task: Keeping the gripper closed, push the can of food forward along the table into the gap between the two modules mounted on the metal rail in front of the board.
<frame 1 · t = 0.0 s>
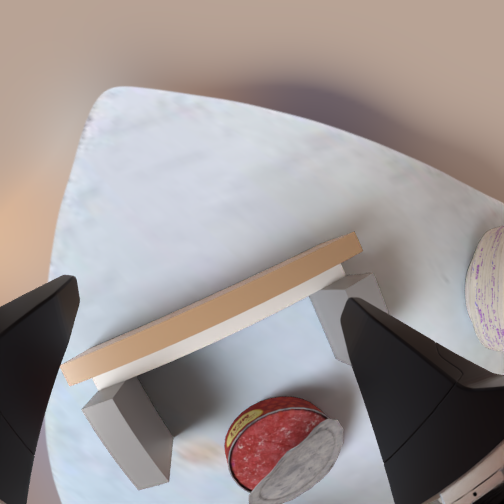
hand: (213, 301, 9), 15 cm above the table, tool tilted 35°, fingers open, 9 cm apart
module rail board: (236, 363, 24), on the table
paper bowls: (482, 290, 30), on the table
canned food: (277, 441, 24), on the table
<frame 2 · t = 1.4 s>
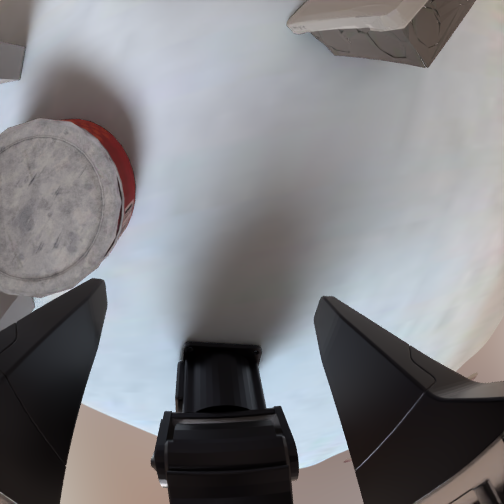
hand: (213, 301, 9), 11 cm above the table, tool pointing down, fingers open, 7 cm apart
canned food: (71, 188, 18), on the table
electrical switch: (353, 11, 14), on the table
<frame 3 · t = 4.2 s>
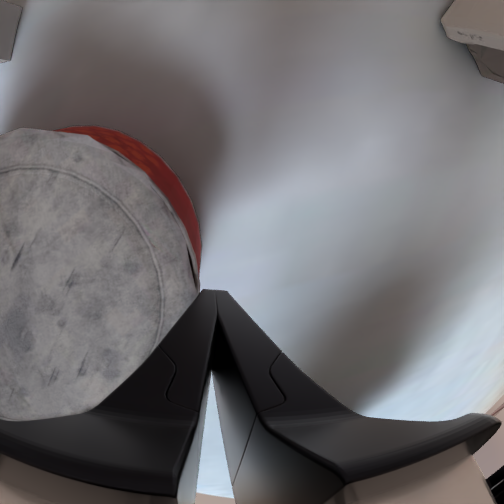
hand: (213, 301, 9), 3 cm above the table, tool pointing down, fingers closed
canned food: (87, 243, 11), on the table
electrical switch: (489, 22, 8), on the table
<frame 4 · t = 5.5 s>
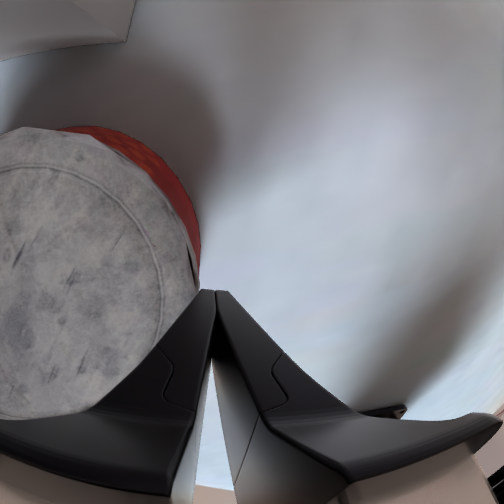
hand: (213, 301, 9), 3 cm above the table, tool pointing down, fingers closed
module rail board: (32, 241, 10), on the table
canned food: (88, 242, 11), on the table
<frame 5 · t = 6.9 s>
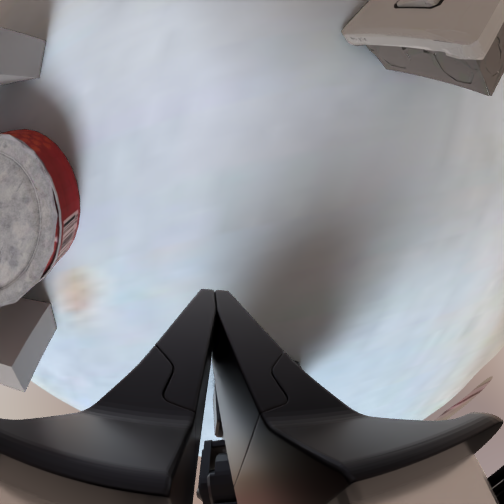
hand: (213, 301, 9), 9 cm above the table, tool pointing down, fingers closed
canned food: (23, 199, 16), on the table
electrical switch: (401, 23, 13), on the table
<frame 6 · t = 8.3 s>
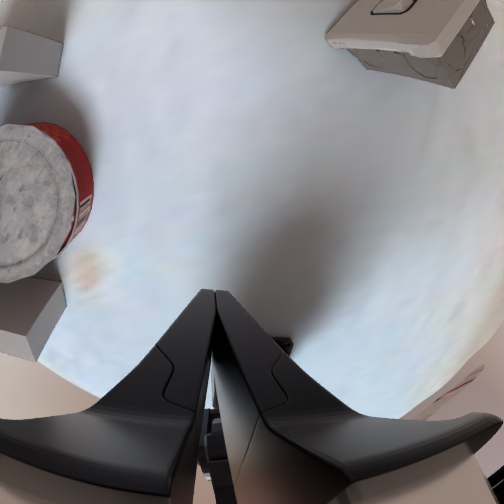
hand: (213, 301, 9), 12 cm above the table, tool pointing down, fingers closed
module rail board: (12, 186, 17), on the table
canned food: (40, 185, 18), on the table
electrical switch: (381, 27, 16), on the table
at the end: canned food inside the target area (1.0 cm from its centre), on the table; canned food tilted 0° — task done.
